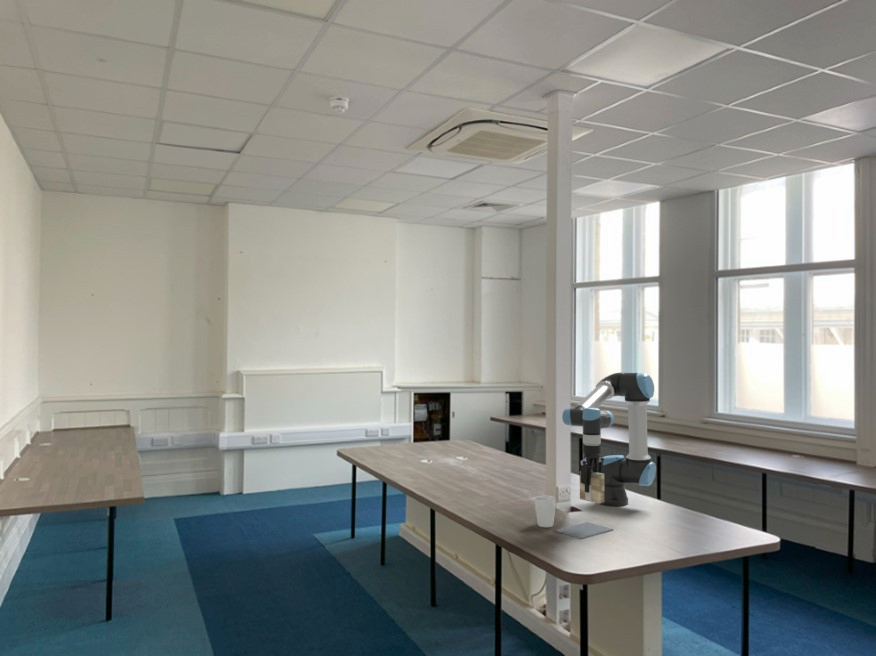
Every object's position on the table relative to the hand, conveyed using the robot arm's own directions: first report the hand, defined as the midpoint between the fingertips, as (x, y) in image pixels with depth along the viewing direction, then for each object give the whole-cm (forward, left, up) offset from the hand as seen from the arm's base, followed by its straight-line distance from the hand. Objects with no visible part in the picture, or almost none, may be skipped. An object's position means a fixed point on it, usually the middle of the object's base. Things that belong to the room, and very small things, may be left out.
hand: (592, 499), depth 282 cm
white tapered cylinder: (+12, -16, -13) cm, 24 cm away
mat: (+5, 0, -13) cm, 14 cm away
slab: (0, 0, -1) cm, 1 cm away
